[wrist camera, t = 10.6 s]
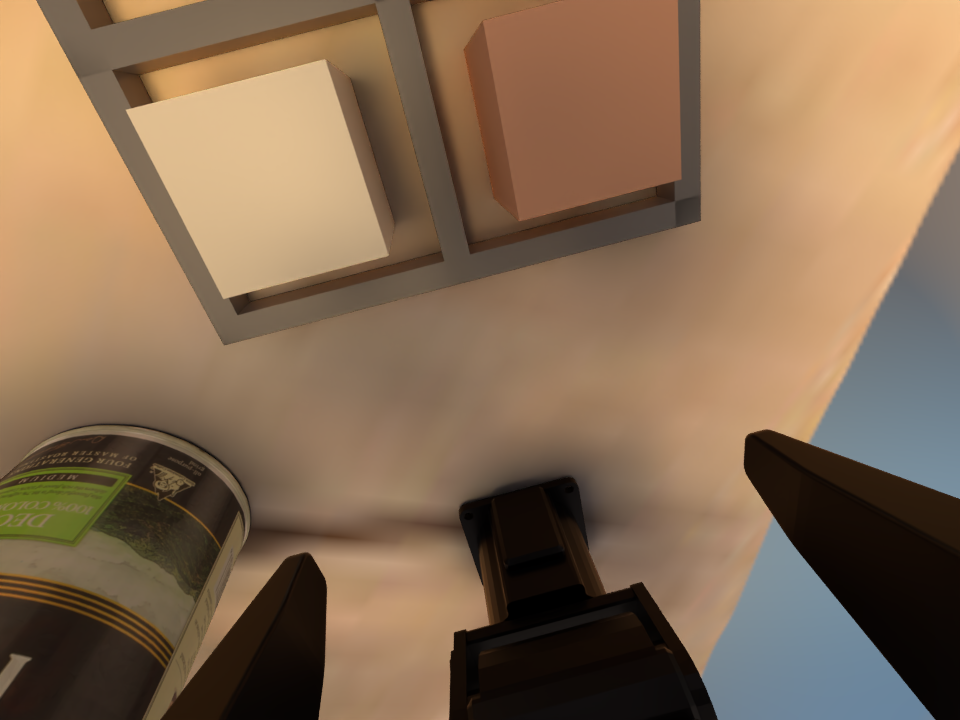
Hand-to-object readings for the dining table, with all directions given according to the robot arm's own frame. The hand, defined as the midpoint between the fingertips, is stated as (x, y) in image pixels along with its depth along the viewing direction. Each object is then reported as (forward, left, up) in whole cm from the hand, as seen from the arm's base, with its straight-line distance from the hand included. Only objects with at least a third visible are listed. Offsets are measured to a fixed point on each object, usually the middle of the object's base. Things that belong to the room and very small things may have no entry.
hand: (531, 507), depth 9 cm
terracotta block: (+6, -4, -12) cm, 14 cm away
